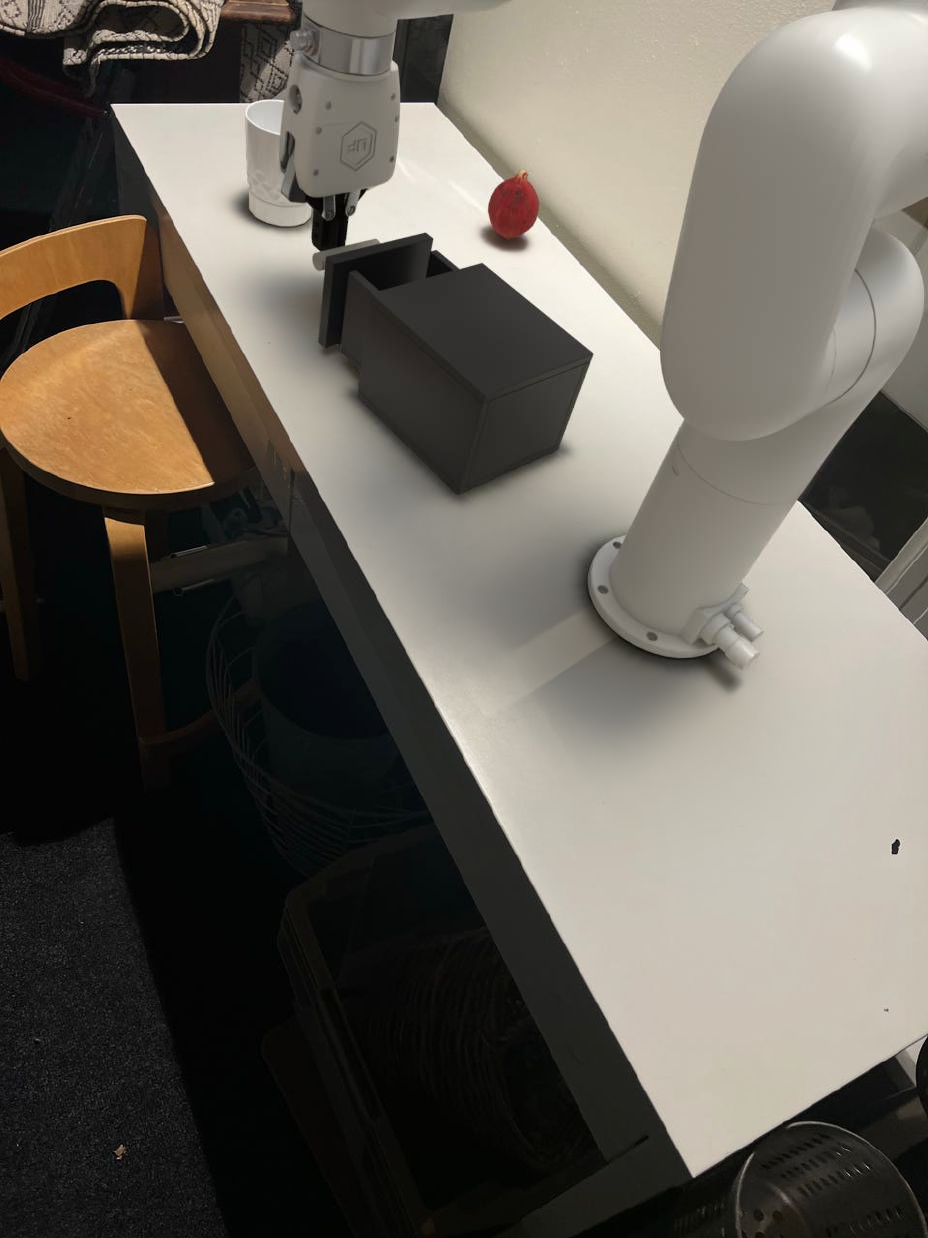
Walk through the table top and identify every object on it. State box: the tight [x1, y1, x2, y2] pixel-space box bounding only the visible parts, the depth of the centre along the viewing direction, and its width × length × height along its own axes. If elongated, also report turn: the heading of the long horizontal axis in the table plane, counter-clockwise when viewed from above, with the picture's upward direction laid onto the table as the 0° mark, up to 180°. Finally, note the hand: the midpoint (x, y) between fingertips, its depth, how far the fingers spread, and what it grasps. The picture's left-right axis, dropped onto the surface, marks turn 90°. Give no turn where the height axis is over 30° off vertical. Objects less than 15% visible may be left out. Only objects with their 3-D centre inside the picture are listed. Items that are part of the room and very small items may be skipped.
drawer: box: [311, 232, 460, 372], centre depth 83 cm, size 18×11×9 cm, turn 41°
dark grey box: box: [356, 262, 594, 495], centre depth 79 cm, size 15×13×11 cm
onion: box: [487, 169, 540, 240], centre depth 103 cm, size 6×6×8 cm
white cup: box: [244, 99, 313, 227], centre depth 96 cm, size 8×8×10 cm
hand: (327, 250), depth 88 cm, fingers closed
